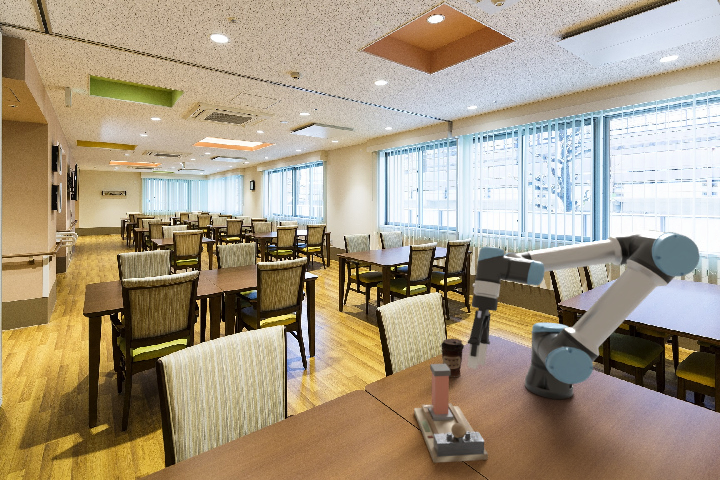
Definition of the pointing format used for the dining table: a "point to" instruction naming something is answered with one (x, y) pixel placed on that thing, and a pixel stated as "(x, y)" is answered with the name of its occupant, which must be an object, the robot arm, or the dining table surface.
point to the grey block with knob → (458, 444)
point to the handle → (440, 393)
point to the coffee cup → (452, 355)
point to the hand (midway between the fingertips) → (476, 366)
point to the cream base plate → (443, 427)
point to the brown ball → (458, 430)
